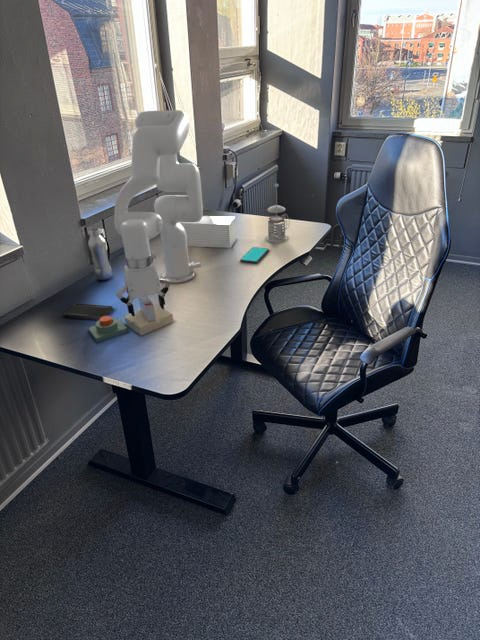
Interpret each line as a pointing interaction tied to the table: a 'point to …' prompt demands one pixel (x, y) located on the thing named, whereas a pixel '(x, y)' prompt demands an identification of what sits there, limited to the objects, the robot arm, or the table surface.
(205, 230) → the white storage box
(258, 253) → the smartphone
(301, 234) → the table surface
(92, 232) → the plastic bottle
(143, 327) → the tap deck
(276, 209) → the french press
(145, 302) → the grey block
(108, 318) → the button
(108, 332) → the button box
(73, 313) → the phone
